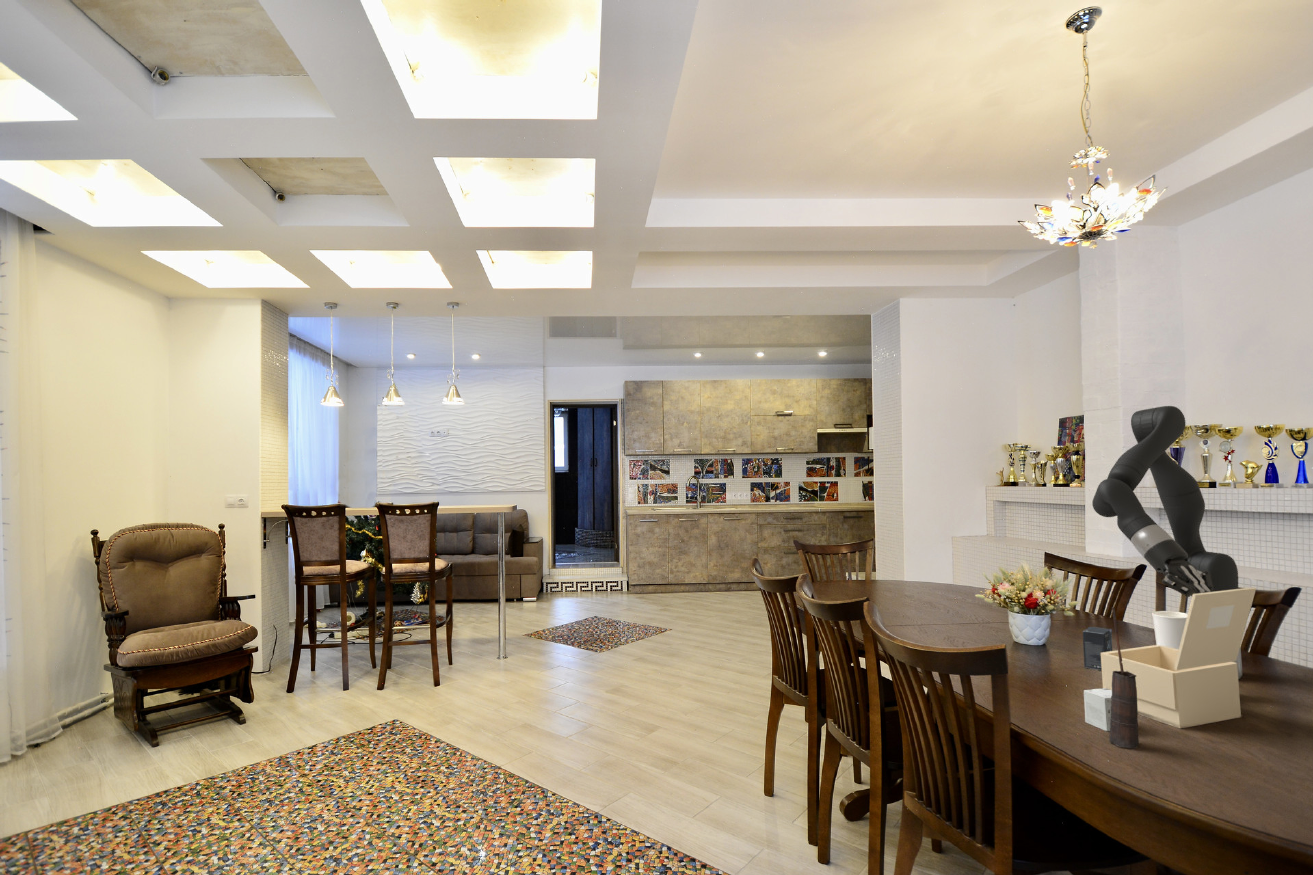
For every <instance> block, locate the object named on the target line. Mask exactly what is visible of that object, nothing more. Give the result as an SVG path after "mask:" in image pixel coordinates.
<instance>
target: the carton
mask: <svg viewBox="0 0 1313 875" xmlns="http://www.w3.org/2000/svg"><path fill="white" fill-rule="evenodd" d="M1178 650H1179V649H1175V648H1171V647H1166V646H1160V645H1156V644H1155V645H1154V644H1153V645H1146V646H1140V647H1138V646H1137V647H1132V648H1125V649H1120V651H1121V657H1122V664H1123V670H1124V671H1128V672H1130V673H1132V674H1134V675H1136V677H1135V678H1136V687H1137V707H1138V708H1137V709H1138V714H1137V715H1138V716H1142V717H1145V718H1148V719H1151V720H1153V721H1157V722H1159V723H1162V724H1166V725H1169V726H1172V727H1174V728H1177V729H1180V730H1181V729H1185V728H1191V727H1195V726H1201V725H1205V724H1210V723H1216V722H1221V721H1227V720H1232V719H1233V720H1234V719H1239V718H1242V714H1241V712H1242V711H1241V701H1240V686H1239V685H1240V683H1239V679H1238V670H1237V663H1235V662H1227V663H1220V664H1214V665H1207V666H1201V667H1194V668H1188V669H1182V670H1175V669H1174V666H1175V662H1176V658H1177V654H1178ZM1101 666H1102V670H1101V680H1102V689H1103V688H1107V689H1110V690H1112V675H1113V671H1121V669H1120V663H1119V655H1118V649H1117V650H1112V651H1109V652H1102V653H1101Z"/></svg>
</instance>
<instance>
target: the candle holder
mask: <svg viewBox="0 0 1313 875" xmlns="http://www.w3.org/2000/svg"><path fill="white" fill-rule="evenodd" d="M1151 615H1152V616H1151V617H1152V623H1153V629H1154V637H1155V645H1160V646H1166V647H1171V648H1175V649H1179V646H1180V643H1181V639H1182V635H1183V631H1184V627H1185V623H1186V619H1187V615H1188V613H1187V612H1179V611H1170V610H1169V611H1168V610H1158V611H1157V610H1156V611H1153V612H1151Z"/></svg>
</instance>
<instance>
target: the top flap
mask: <svg viewBox="0 0 1313 875" xmlns="http://www.w3.org/2000/svg"><path fill="white" fill-rule="evenodd" d="M1256 590H1257V587H1244V588H1238V589H1233V590H1225V591H1216V592H1207V593H1198V594H1193V595H1192V596H1191V600H1190V605H1189V607H1188V611H1187V614H1188V615H1187V619H1186V623H1185V627H1184V631H1183V635H1182V639H1181V643H1180V646H1179V650H1178V654H1177V658H1176V662H1175V666H1174V669H1175V670H1182V669H1188V668H1194V667H1201V666H1207V665H1214V664H1220V663H1227V662H1233V661H1236V660H1237V656H1238V653H1239V649H1240V648H1241V645H1242V643H1243V642H1242V641H1243V637H1244V634H1245V631H1246V628H1247V625H1248V624H1247V623H1248V619H1249V615H1250V612H1251V608H1252V606H1253V601H1254V597H1255V594H1256Z"/></svg>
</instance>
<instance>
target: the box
mask: <svg viewBox="0 0 1313 875" xmlns="http://www.w3.org/2000/svg"><path fill="white" fill-rule="evenodd" d="M1112 632H1113V631H1112V628H1105V627H1097V626H1089V627H1088V628H1086V629H1084V630H1083V631H1082V644H1083V646H1082V647H1083V666H1084V668H1087V669H1090V670H1097V671H1102V666H1101V653H1102V652H1109V651H1113V638H1112V637H1113V636H1112Z"/></svg>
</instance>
